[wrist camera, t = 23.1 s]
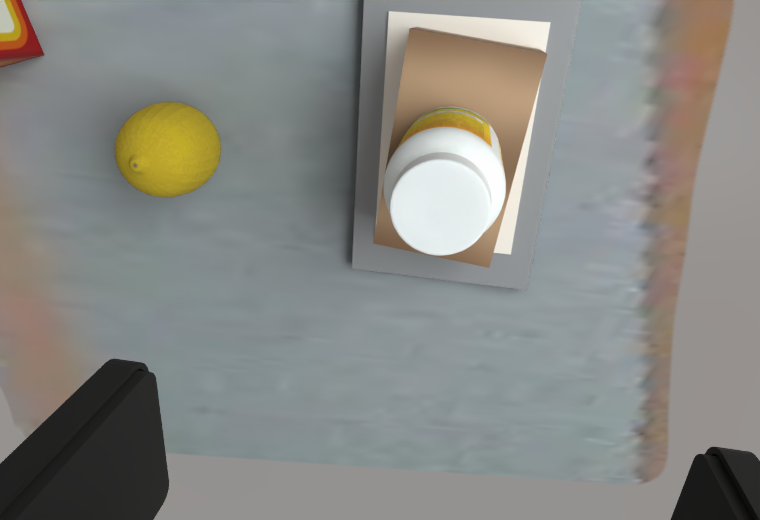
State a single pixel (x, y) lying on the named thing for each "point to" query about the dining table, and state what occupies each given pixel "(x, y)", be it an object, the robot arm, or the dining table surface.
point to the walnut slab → (469, 91)
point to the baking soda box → (16, 34)
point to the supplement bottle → (445, 181)
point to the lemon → (167, 149)
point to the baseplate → (526, 199)
